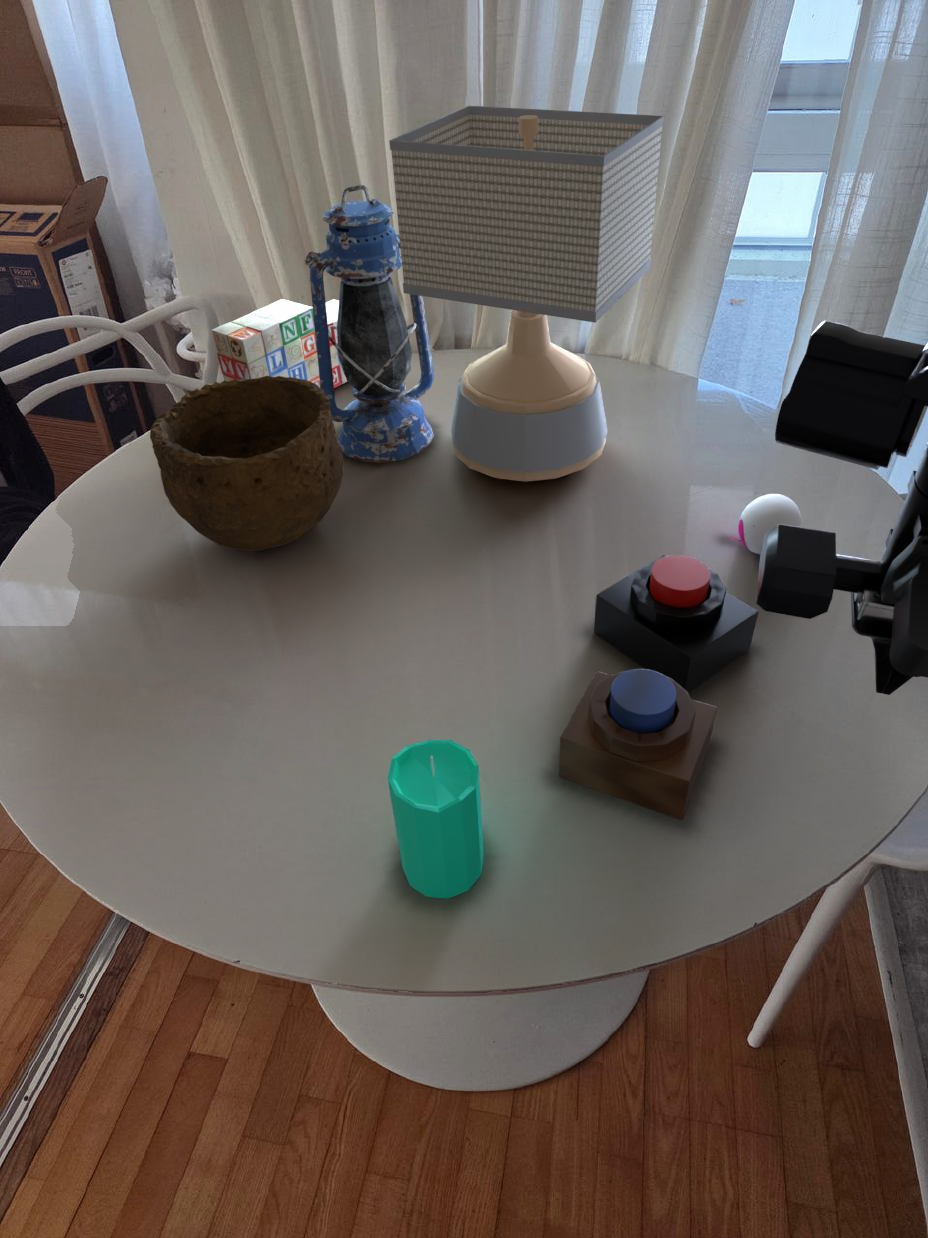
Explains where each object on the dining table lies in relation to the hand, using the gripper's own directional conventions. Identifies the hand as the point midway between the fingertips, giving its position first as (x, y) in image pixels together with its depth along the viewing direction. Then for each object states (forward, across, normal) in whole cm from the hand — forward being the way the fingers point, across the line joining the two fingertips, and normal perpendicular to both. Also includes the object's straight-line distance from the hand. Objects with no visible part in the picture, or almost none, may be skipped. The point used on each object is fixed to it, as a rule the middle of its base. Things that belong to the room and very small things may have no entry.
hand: (881, 689), depth 56 cm
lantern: (+15, -54, +46) cm, 72 cm away
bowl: (+15, -59, +23) cm, 65 cm away
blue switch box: (+14, -15, +1) cm, 20 cm away
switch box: (+14, -14, +16) cm, 25 cm away
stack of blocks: (+16, -70, +55) cm, 91 cm away
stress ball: (+14, -7, +33) cm, 36 cm away
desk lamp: (+15, -35, +46) cm, 59 cm away
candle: (+14, -27, -12) cm, 33 cm away
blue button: (+7, -15, +1) cm, 17 cm away
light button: (+8, -14, +16) cm, 22 cm away
